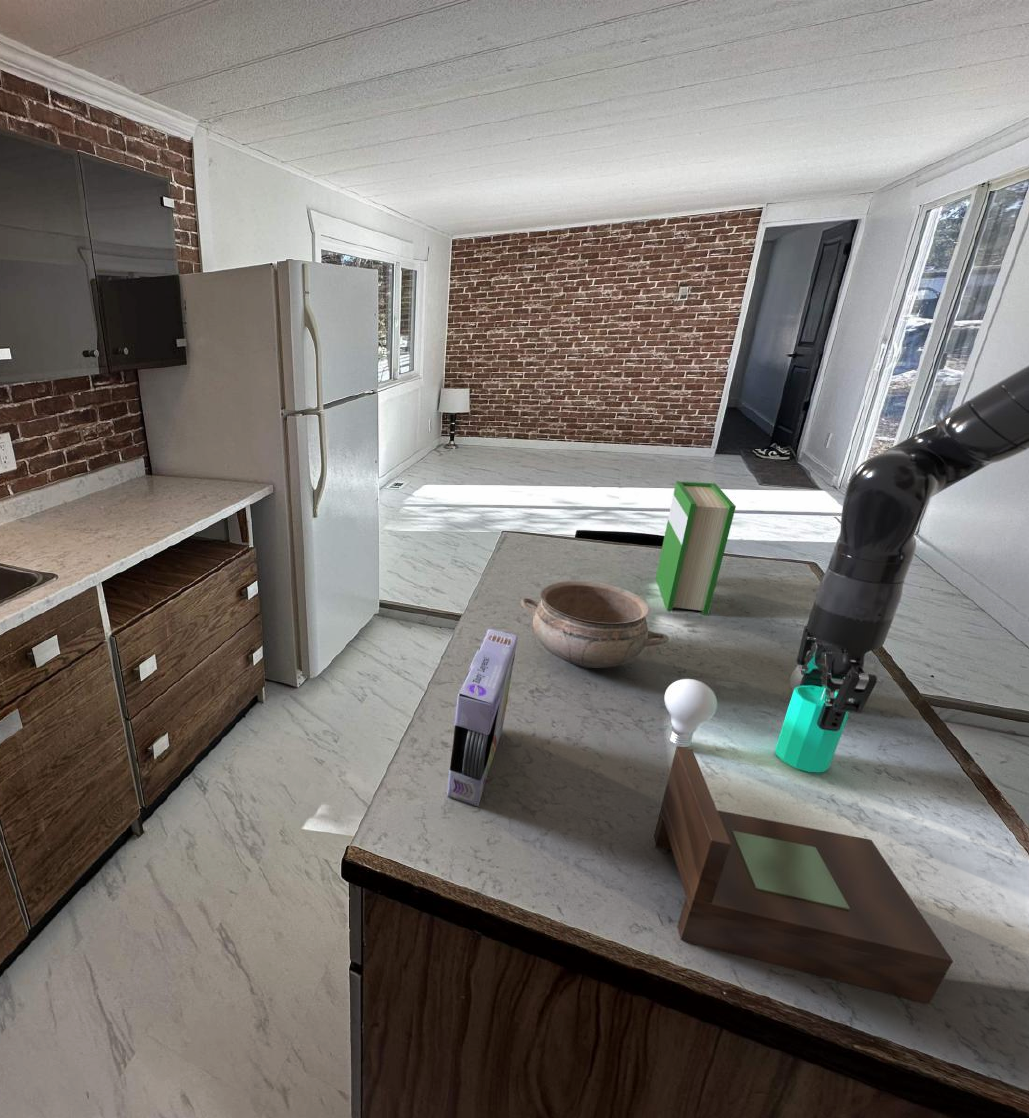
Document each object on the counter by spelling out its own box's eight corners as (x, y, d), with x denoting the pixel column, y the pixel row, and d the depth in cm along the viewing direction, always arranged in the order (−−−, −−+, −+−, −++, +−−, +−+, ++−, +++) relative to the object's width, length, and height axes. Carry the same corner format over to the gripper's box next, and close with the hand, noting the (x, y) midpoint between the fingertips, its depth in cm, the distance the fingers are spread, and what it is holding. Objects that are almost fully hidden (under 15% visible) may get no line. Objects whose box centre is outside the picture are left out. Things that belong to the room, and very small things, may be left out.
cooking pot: (497, 658, 113) (503, 600, 108) (534, 620, 126) (541, 567, 121) (645, 707, 97) (660, 642, 93) (670, 658, 110) (684, 599, 106)
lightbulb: (652, 726, 93) (667, 666, 89) (701, 737, 90) (718, 675, 86) (656, 752, 88) (671, 689, 84) (707, 763, 85) (725, 699, 81)
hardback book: (707, 615, 125) (735, 506, 116) (667, 610, 128) (691, 503, 119) (691, 582, 140) (715, 483, 131) (655, 578, 142) (676, 481, 133)
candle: (782, 767, 83) (806, 695, 79) (768, 740, 88) (790, 671, 84) (836, 776, 81) (864, 703, 77) (819, 748, 86) (844, 678, 82)
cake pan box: (479, 815, 78) (492, 703, 72) (442, 802, 81) (450, 693, 74) (506, 730, 94) (518, 632, 87) (474, 721, 96) (483, 625, 89)
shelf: (854, 878, 67) (896, 782, 62) (929, 1004, 55) (990, 898, 50) (653, 836, 74) (676, 746, 69) (680, 940, 62) (711, 840, 57)
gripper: (926, 635, 68) (878, 753, 74) (862, 585, 81) (826, 689, 87) (844, 627, 71) (805, 742, 77) (794, 579, 83) (764, 681, 89)
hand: (816, 713), depth 82 cm, fingers closed on candle, 6 cm apart
